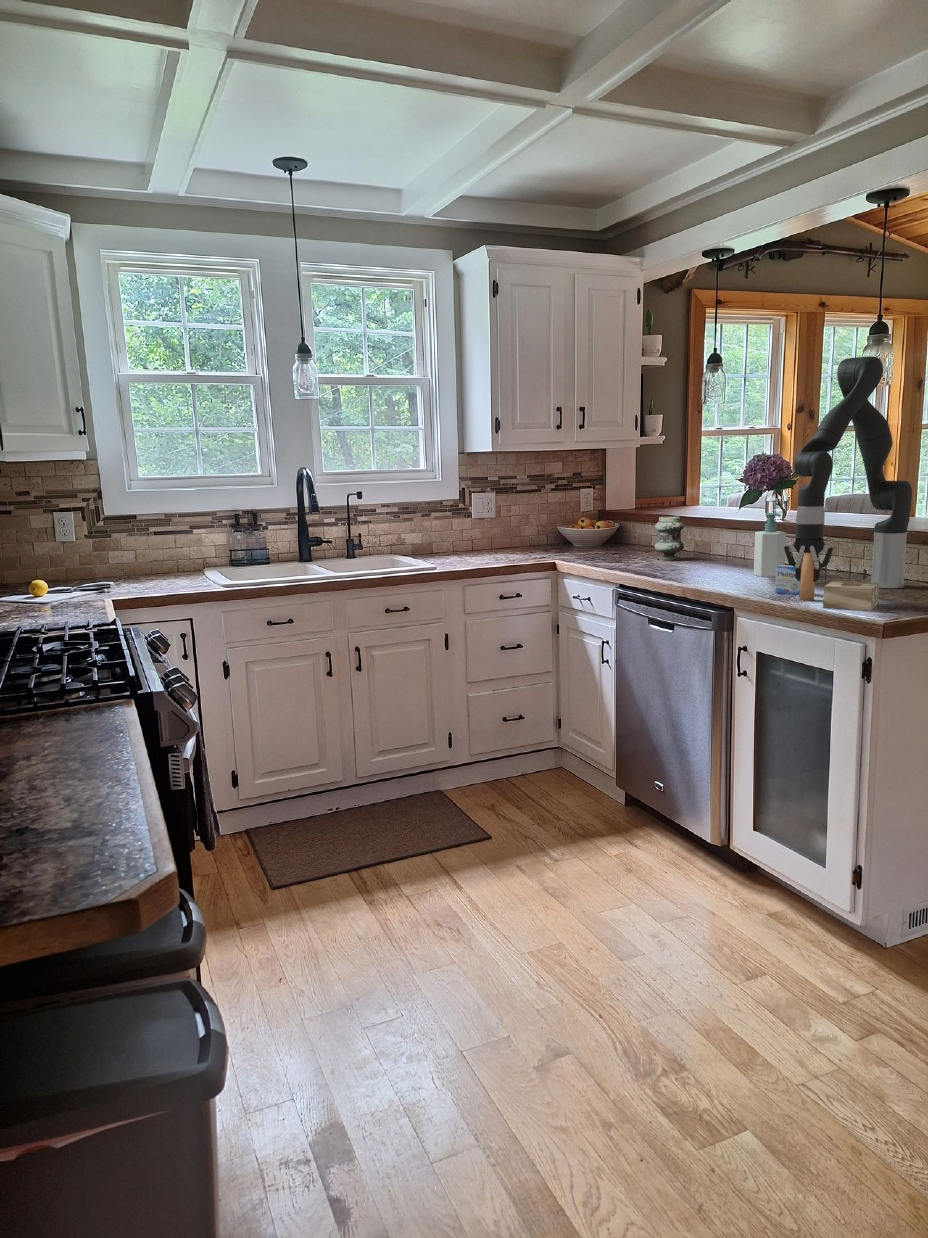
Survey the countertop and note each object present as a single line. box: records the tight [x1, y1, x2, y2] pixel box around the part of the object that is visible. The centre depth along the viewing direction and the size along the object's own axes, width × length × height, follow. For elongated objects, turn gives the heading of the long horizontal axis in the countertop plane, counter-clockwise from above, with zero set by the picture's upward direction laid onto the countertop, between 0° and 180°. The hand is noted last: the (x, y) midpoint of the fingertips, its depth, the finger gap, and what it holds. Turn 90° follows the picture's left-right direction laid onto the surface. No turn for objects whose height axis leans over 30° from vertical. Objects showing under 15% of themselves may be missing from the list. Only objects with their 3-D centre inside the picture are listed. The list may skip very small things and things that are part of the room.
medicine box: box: [774, 564, 800, 596], centre depth 260 cm, size 8×4×9 cm, turn 45°
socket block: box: [822, 580, 880, 612], centre depth 236 cm, size 12×12×6 cm
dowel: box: [798, 553, 816, 602], centre depth 248 cm, size 4×4×14 cm
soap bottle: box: [753, 512, 787, 578], centre depth 301 cm, size 10×9×22 cm
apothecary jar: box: [654, 516, 685, 561], centre depth 357 cm, size 12×12×18 cm
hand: (807, 580), depth 248 cm, fingers closed on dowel, 4 cm apart
